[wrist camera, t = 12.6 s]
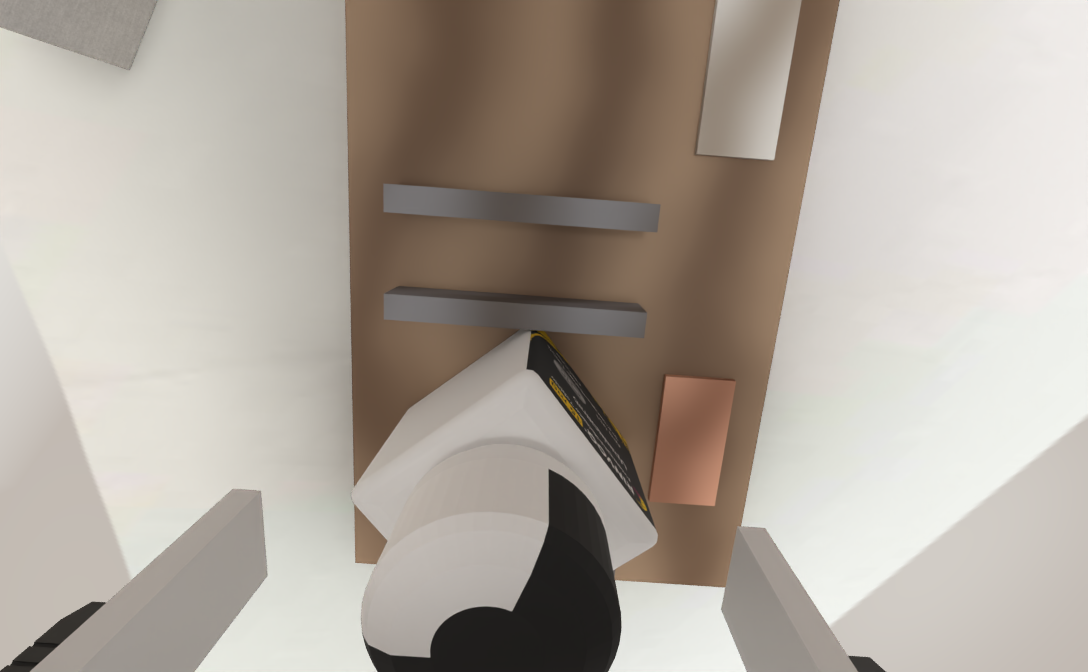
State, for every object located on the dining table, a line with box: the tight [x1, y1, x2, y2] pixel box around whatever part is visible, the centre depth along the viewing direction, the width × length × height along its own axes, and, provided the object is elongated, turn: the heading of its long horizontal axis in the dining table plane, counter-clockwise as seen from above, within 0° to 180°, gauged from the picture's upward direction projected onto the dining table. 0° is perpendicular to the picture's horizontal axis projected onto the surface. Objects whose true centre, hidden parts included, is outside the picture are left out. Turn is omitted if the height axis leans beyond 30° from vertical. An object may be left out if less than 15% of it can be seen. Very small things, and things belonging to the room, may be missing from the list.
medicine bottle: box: [351, 329, 658, 672], centre depth 17 cm, size 7×7×12 cm
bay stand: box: [345, 0, 840, 587], centre depth 21 cm, size 18×30×3 cm, turn 176°
